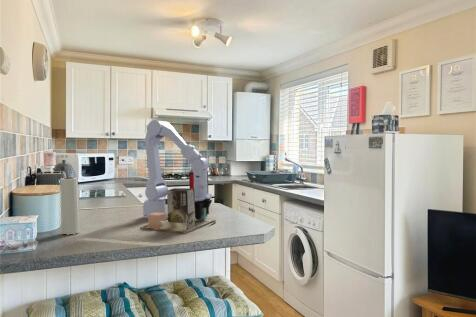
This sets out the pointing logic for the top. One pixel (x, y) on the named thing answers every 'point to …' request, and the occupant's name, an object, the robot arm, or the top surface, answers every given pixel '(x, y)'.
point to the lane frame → (177, 231)
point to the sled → (181, 226)
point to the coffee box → (181, 206)
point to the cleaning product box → (191, 181)
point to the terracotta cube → (156, 219)
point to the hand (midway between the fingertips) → (201, 217)
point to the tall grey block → (69, 205)
